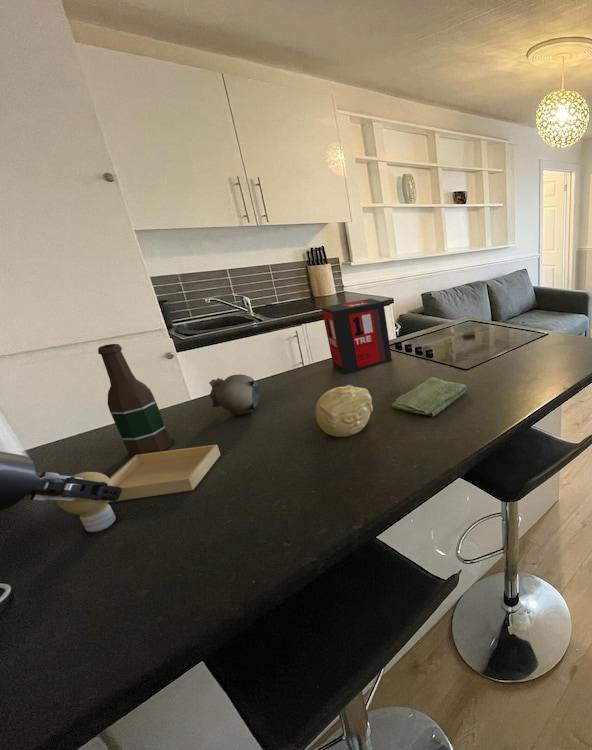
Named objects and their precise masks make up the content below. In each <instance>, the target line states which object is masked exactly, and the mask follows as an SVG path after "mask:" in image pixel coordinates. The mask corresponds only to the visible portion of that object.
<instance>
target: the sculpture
mask: <svg viewBox="0 0 592 750" xmlns="http://www.w3.org/2000/svg"><path fill="white" fill-rule="evenodd" d="M372 401H373V400H372V396H371V395H370V391H369V390H368V389H367V388H364V387H358V386H353V385H352V384H346V385H345V386H337V387H334V388H332V389H329V390H327V391H326V392H324V393H323V394H322V395H320V397H319V399H318V401H317V403H316V406H315V418H316V421H317V424H318V426H319V427H320V429H321V430H322V431H323V433H325V434H327V435H329V436H332V437H336V438H346V437H351V436H353V435H356V434H358V433H359V432H361V431H362V430H364V429H365V427H366V426H367V424H368V422H369V421H370V417H371V414H372V412H373V410H374V409H373V404H372V403H373V402H372Z"/></svg>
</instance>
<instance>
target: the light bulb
mask: <svg viewBox="0 0 592 750" xmlns="http://www.w3.org/2000/svg"><path fill="white" fill-rule="evenodd" d="M71 476H72V477H80V478H82V479H83V480H89V481H96V482H105V483H108V484H107V485H108V486H113V485H112V482H111V480H110V479H109V478H110V477H108V476H107V475H105V474H104V473H102V472H97V471H83V472H79V473H76V474H74V475H71ZM59 496H60V495H59ZM60 497H62V496H60ZM55 502H56V504H57V505H58V507H59V508H61V509H62V510H64V511H65V512H68V513H70V514H74V515H78V516H79V520H80V521H81V523H82V525H83V527H84V529H85V531H86V532H89V533H90V532H91V533H97V532H100V531H103V530H106V529H108V528H109V527H110V526H112V525H113V523H115V522H116V515H115V513H114V511H113V509H112V506H111V505H110V504H109V503H110V502H109V501H107V500H88V499H80V498H76V499H74V500H73V501H61V500H55Z"/></svg>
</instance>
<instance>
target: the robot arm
mask: <svg viewBox="0 0 592 750" xmlns="http://www.w3.org/2000/svg"><path fill="white" fill-rule="evenodd" d="M72 476H73V475H71V476H70V475H61V474H59V473H57V472H54V471H53V472H52V471H40V472H39V471H37V466H36V463H35V461H34V460H33V459H32V458H31V457H29V456H27V455H24V454H17V453H11V452H6V451H0V512H1V511H4V510H8V509H10V508H11V507H14V506H15V505H17V504H18V503H19V502H21V501H39V502H41V501H43V502H44V501H47V500H48V501H49V500H50V501H51V500H52V501H56V500H61V501H73V500H74V499H76V498H80V499H88V500H107V501H114V502H118V501H117V500H118V499H119V496H120V494H121V491H122V488H121V487H116V486H108V485H107V484H108V483H105V482H96V481H89V480H83V479H82V478H80V477H72ZM59 495H60V496H62V497H60V496H59Z"/></svg>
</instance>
